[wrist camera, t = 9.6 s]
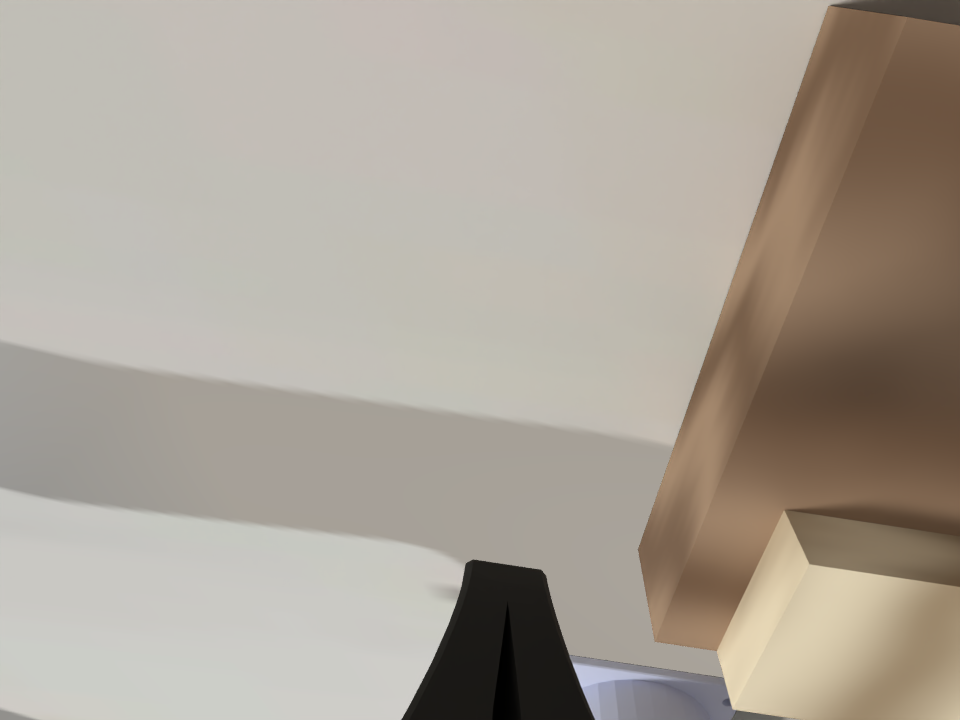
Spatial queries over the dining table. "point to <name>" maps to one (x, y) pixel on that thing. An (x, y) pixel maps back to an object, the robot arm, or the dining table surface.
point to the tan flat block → (828, 330)
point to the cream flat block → (848, 624)
